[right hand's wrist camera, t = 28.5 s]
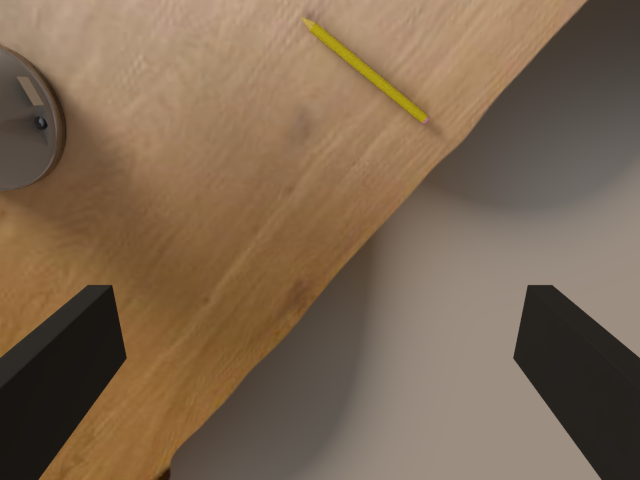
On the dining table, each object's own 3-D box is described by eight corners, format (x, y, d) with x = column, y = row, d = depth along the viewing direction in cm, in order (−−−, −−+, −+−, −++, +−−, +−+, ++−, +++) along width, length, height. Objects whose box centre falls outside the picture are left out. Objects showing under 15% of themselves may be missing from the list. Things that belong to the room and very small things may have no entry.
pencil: (428, 116, 43) (430, 117, 42) (422, 124, 44) (424, 124, 43) (303, 13, 40) (303, 11, 39) (298, 22, 40) (297, 20, 39)
